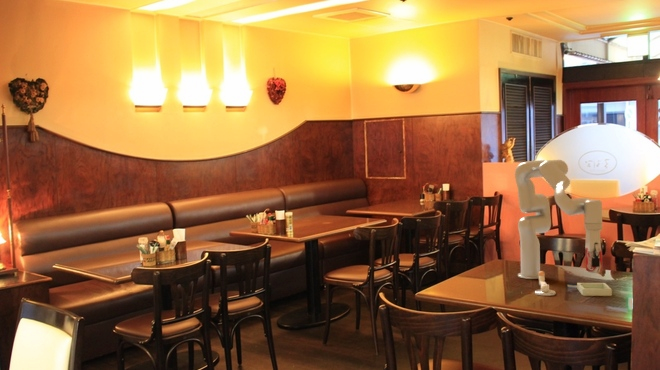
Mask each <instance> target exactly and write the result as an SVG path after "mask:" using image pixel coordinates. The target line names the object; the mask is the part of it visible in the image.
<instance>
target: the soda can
mask: <svg viewBox="0 0 660 370" xmlns="http://www.w3.org/2000/svg"><path fill="white" fill-rule="evenodd" d="M593 251H595V250H593ZM594 254H595V253H594ZM599 257H600V267H592V258H593V256H592V251H591V252H589V251H588V248H585V271H587V273H590V274H599V273H602V271H603V249H602V248H601V251H600V252H599Z"/></svg>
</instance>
